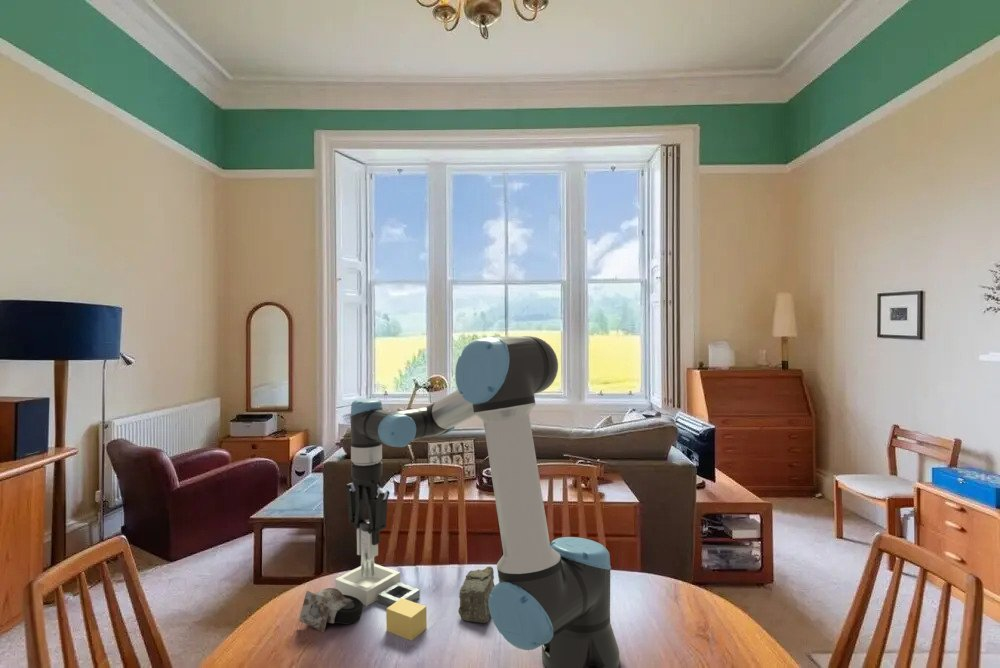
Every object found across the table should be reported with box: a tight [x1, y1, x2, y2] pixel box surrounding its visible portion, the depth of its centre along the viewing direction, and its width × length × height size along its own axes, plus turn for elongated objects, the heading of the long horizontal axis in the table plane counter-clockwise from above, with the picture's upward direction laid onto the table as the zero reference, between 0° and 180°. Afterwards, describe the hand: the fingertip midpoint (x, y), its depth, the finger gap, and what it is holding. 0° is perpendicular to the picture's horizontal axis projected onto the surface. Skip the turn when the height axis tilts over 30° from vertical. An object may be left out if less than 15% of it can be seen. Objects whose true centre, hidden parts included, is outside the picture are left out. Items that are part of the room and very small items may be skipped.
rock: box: [457, 566, 496, 624], centre depth 123 cm, size 17×7×10 cm
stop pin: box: [360, 519, 375, 578], centre depth 132 cm, size 4×4×13 cm
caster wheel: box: [298, 587, 364, 632], centre depth 119 cm, size 7×11×10 cm
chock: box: [385, 597, 427, 641], centre depth 114 cm, size 7×5×5 cm
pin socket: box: [377, 581, 421, 608], centre depth 127 cm, size 7×7×2 cm
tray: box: [334, 562, 401, 607], centre depth 132 cm, size 11×11×4 cm
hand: (367, 554), depth 132 cm, fingers closed on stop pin, 3 cm apart
